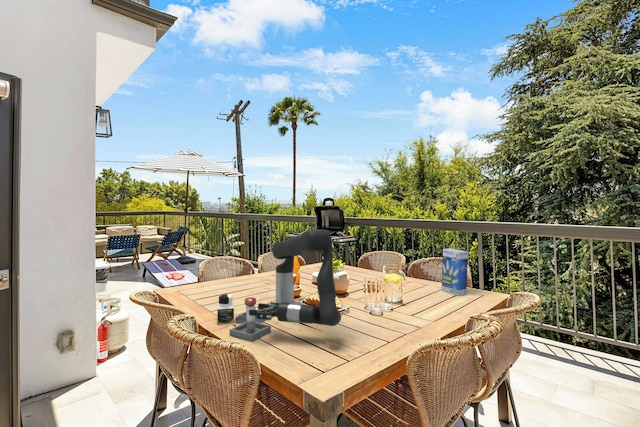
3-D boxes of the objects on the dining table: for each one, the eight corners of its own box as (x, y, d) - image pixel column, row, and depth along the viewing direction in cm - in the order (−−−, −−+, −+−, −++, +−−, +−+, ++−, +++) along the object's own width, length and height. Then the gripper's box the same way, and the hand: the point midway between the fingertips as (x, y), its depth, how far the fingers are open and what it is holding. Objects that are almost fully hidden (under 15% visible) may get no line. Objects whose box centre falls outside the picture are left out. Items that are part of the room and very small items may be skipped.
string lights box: (441, 290, 214) (442, 248, 213) (450, 289, 217) (451, 248, 216) (457, 296, 202) (459, 252, 201) (467, 294, 205) (468, 251, 204)
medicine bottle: (217, 324, 155) (217, 297, 154) (217, 319, 162) (217, 293, 161) (233, 323, 157) (233, 296, 156) (233, 317, 164) (233, 292, 163)
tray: (249, 326, 153) (249, 320, 153) (270, 331, 147) (270, 325, 147) (229, 335, 143) (229, 329, 143) (252, 341, 137) (252, 335, 137)
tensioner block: (254, 313, 169) (254, 304, 169) (270, 317, 164) (270, 307, 164) (235, 322, 158) (235, 311, 158) (252, 326, 153) (252, 315, 153)
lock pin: (250, 329, 148) (249, 296, 147) (258, 331, 146) (258, 298, 145) (242, 332, 144) (242, 299, 143) (251, 335, 142) (250, 301, 141)
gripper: (296, 298, 147) (261, 295, 151) (284, 308, 133) (245, 305, 137) (296, 315, 147) (261, 312, 151) (284, 328, 133) (246, 324, 137)
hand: (254, 309), depth 144 cm, fingers open, 8 cm apart
